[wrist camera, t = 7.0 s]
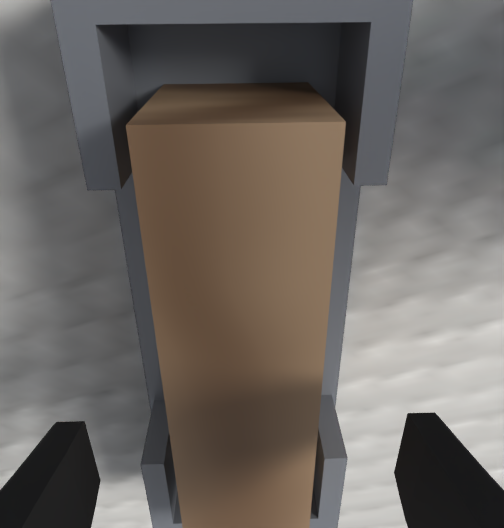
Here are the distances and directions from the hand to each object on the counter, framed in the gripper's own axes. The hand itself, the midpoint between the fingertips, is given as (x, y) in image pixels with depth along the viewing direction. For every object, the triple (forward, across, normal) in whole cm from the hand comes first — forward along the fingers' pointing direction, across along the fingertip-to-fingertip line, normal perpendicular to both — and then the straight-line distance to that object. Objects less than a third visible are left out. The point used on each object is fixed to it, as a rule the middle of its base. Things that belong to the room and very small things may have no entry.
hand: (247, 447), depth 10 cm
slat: (+6, 0, 0) cm, 7 cm away
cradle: (+7, 0, 0) cm, 7 cm away
